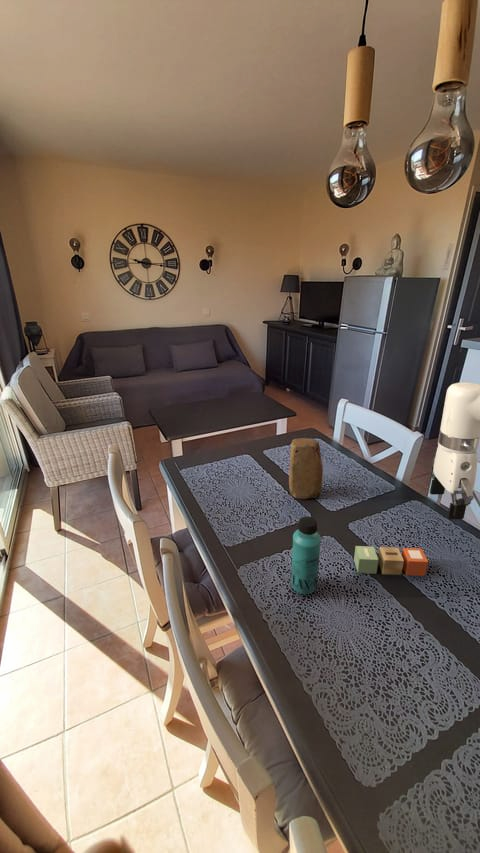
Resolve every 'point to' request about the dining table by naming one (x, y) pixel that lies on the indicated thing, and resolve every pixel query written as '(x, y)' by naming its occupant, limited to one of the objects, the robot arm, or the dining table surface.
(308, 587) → the beverage bottle
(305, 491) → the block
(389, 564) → the tan wooden toy cube
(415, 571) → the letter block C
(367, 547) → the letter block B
